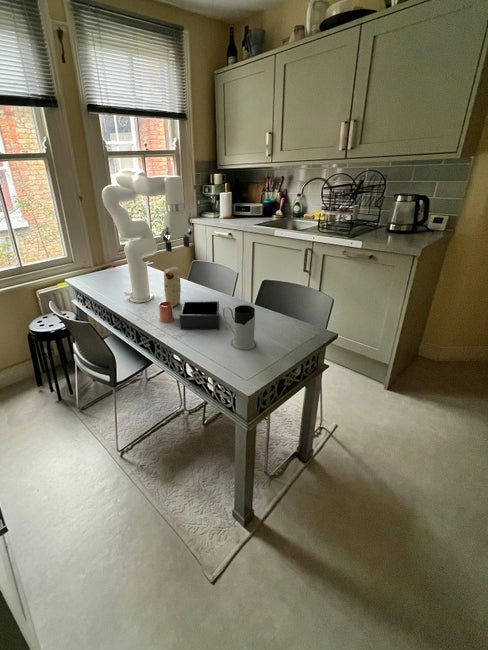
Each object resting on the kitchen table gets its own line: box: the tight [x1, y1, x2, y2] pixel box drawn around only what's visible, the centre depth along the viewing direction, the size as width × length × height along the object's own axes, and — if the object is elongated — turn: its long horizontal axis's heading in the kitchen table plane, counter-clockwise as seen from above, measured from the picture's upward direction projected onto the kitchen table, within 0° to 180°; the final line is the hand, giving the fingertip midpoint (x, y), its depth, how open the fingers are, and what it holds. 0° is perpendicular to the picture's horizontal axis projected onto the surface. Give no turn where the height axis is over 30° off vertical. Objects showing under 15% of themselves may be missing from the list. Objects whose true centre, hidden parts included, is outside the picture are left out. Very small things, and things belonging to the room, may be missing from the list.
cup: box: [158, 300, 174, 323], centre depth 145 cm, size 6×6×8 cm
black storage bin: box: [179, 300, 220, 330], centre depth 142 cm, size 17×15×7 cm
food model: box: [163, 266, 182, 308], centre depth 157 cm, size 10×7×20 cm
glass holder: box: [222, 304, 256, 350], centre depth 123 cm, size 9×14×15 cm, turn 49°
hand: (177, 248), depth 137 cm, fingers open, 9 cm apart
